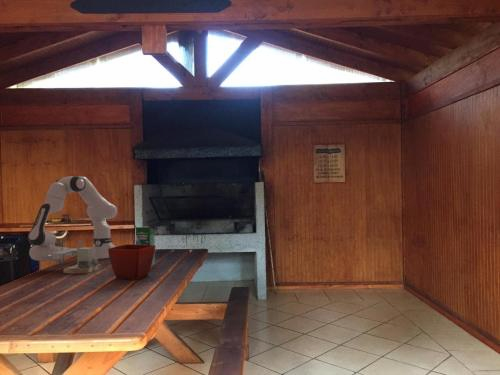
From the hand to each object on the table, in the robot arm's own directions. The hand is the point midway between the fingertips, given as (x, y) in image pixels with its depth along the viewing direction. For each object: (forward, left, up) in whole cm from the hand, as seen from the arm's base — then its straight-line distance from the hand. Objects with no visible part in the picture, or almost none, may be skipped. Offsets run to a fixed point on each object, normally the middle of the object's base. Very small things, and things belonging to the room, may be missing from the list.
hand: (76, 253), depth 251 cm
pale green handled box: (0, +5, -8) cm, 9 cm away
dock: (0, +4, -10) cm, 11 cm away
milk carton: (-19, +36, -10) cm, 42 cm away
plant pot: (+15, +43, -10) cm, 47 cm away
